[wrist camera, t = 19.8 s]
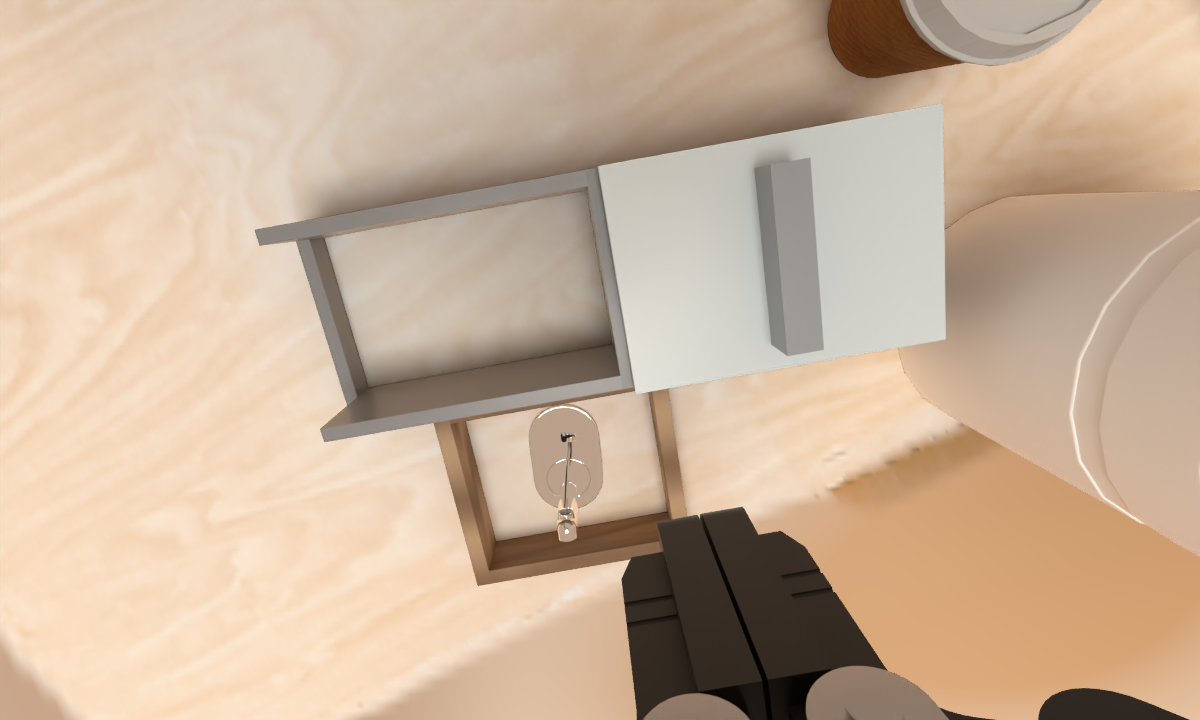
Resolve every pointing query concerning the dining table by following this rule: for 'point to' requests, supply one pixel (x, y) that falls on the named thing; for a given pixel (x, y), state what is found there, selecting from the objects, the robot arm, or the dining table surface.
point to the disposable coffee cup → (946, 32)
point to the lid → (780, 248)
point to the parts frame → (547, 549)
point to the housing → (468, 387)
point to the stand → (566, 463)
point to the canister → (1080, 344)
